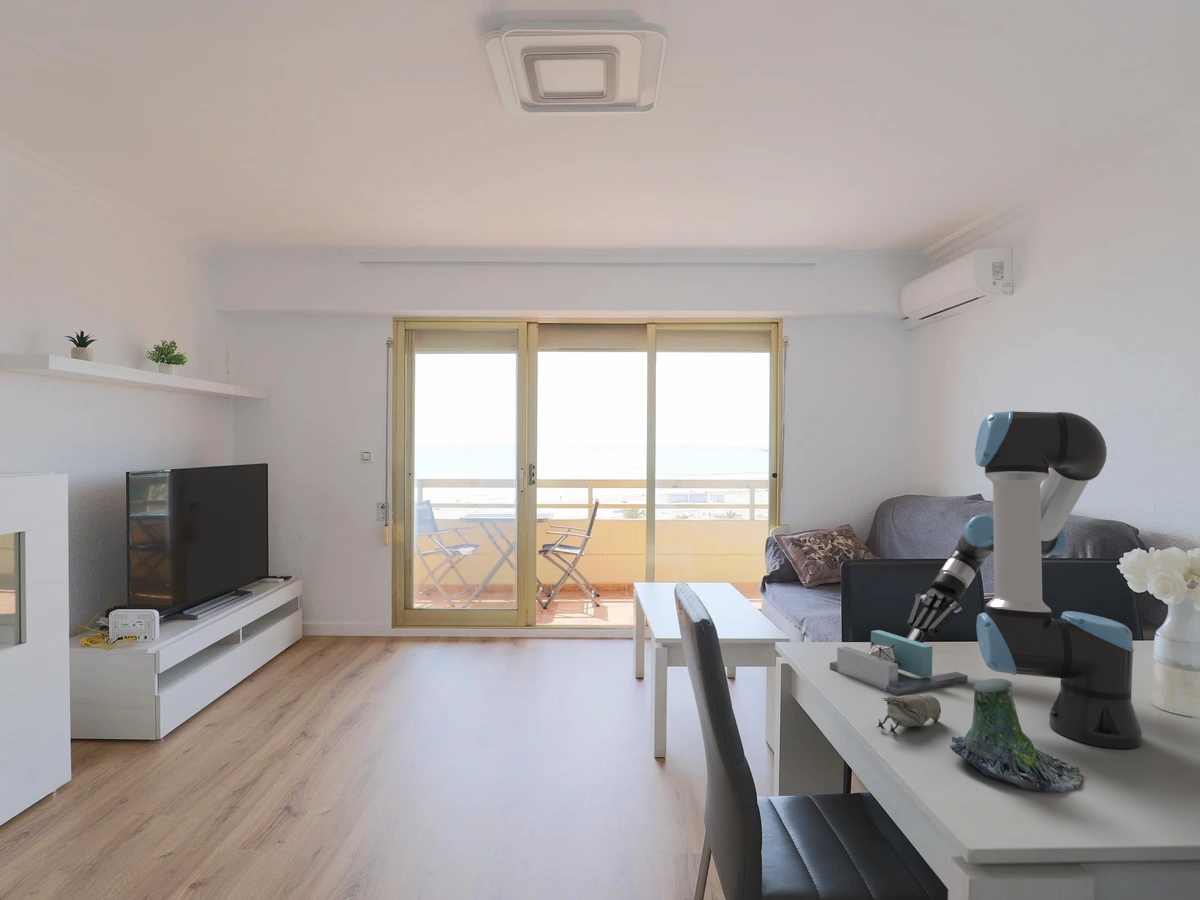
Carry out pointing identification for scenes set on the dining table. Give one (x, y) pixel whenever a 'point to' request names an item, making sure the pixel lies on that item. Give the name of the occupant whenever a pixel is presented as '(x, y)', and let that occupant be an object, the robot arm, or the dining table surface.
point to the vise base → (886, 673)
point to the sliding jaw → (907, 652)
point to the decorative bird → (911, 710)
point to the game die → (884, 653)
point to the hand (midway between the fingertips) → (906, 652)
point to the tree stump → (1009, 745)
